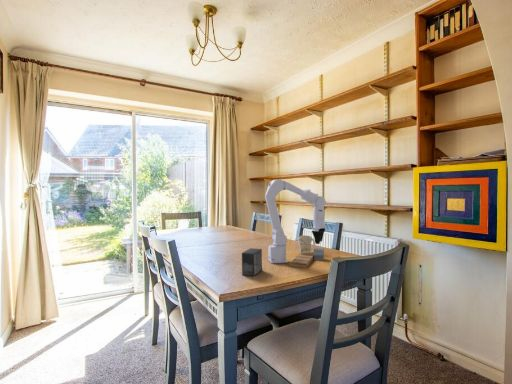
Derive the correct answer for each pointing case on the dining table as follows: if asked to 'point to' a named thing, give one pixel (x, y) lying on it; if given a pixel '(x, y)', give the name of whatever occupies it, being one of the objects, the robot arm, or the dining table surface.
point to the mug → (305, 243)
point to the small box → (251, 262)
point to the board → (302, 260)
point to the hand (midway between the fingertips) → (318, 242)
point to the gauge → (316, 253)
